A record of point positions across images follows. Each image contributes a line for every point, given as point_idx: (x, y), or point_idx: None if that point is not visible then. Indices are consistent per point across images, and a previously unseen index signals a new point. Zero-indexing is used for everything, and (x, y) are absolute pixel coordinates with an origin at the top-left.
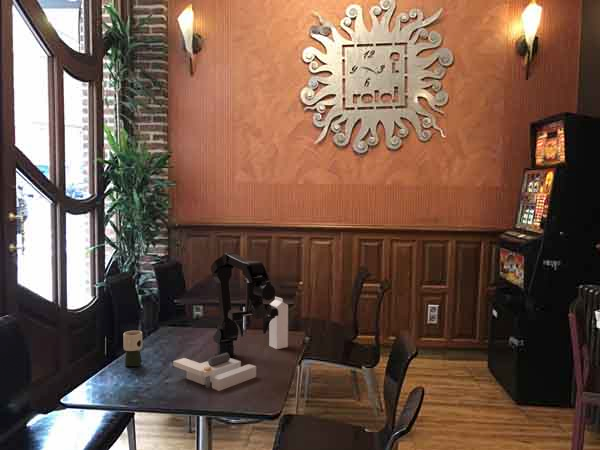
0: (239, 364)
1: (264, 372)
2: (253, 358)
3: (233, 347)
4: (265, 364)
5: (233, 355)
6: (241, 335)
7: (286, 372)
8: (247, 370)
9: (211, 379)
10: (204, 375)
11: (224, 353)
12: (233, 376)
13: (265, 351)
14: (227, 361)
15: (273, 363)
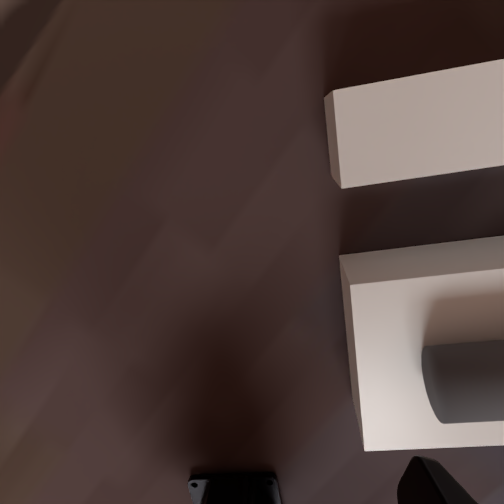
0: (362, 274)
1: (218, 137)
2: (134, 384)
3: None
4: (127, 260)
5: (209, 477)
6: (455, 482)
7: (83, 23)
8: (452, 68)
9: None
10: None
11: (482, 410)
12: None
13: (19, 424)
14: None
15: (73, 242)
